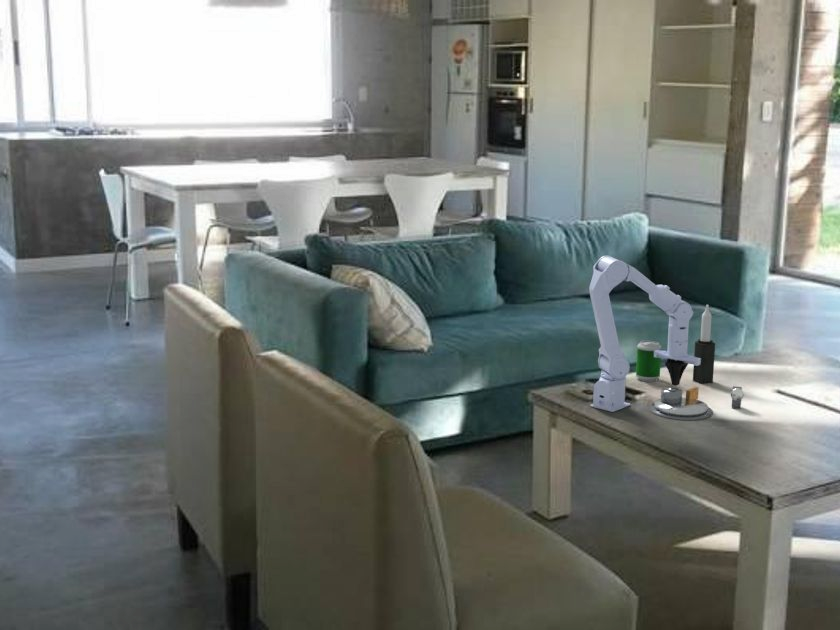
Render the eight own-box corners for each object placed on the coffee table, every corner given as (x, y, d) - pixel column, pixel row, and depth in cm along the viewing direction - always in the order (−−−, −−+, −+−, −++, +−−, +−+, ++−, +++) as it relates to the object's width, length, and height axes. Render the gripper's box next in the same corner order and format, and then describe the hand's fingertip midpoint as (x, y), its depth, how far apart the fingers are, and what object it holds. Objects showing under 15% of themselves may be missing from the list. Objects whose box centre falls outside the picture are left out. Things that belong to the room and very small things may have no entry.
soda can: (661, 382, 335) (663, 345, 332) (637, 382, 335) (639, 345, 332) (657, 376, 342) (658, 340, 340) (633, 375, 342) (635, 339, 340)
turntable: (690, 420, 296) (691, 403, 295) (644, 408, 306) (645, 393, 305) (719, 407, 307) (720, 392, 306) (673, 397, 317) (674, 382, 316)
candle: (691, 380, 337) (695, 303, 332) (703, 378, 339) (708, 302, 334) (701, 384, 333) (706, 306, 327) (714, 382, 335) (719, 305, 329)
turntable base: (692, 424, 294) (692, 423, 294) (637, 410, 306) (637, 409, 306) (724, 410, 306) (724, 409, 306) (670, 397, 319) (670, 396, 318)
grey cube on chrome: (742, 409, 307) (744, 389, 306) (729, 408, 308) (731, 388, 306) (742, 406, 310) (743, 386, 309) (729, 405, 311) (730, 385, 309)
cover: (674, 406, 304) (675, 392, 303) (656, 401, 308) (657, 388, 307) (685, 401, 308) (686, 388, 308) (667, 397, 312) (668, 384, 312)
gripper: (706, 341, 309) (704, 386, 312) (663, 333, 318) (661, 377, 321) (694, 346, 304) (692, 391, 307) (650, 337, 313) (648, 381, 316)
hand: (675, 384), depth 314 cm, fingers closed
